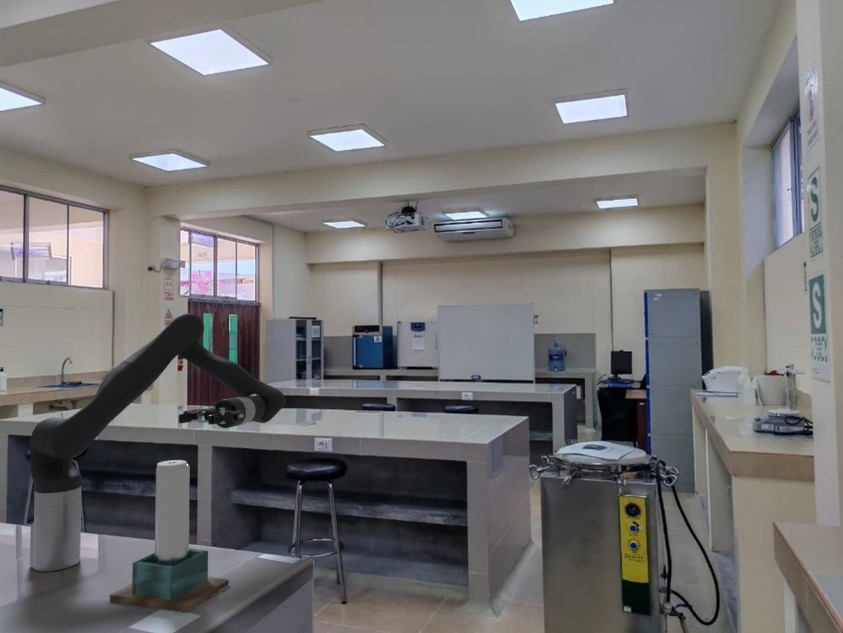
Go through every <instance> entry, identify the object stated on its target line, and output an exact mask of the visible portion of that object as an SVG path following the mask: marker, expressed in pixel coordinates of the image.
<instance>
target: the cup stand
mask: <svg viewBox="0 0 843 633" xmlns="http://www.w3.org/2000/svg"><path fill="white" fill-rule="evenodd" d="M131 572H132V577H131V578H132V580H131V581H132V582H131V583H130V584H128V585H126V586H124V587H123V588H120V589H119V590H116V591H114V592H113V593H110V594H109V602H113V603H121V604H125V605H132V606H141V607H146V608H151V609H152V608H153V609H159V610H165V609H166V611H171V610H174V612H178V611H182V612H181V613H184V612H187V613H188V611H189V610H190V611H192V610H193V609H195V608H197V607H198V606H200V605H201V604H202V602H203V601H204V600H206V599H207V598H209V597H210V596H212V595H213V594H215V593H216V594H218V593H219V592H220V591H219V590H221V589H222V588H224V587H225V586H227V585H228V584H229V583H230V579H227V578H221V577H220V578H219V577H212V576H209V550H204V549H203V550H202V549H195V548H189V559H187V560H185V561H183V562H181V563H179V564H177V565H175V566H169V565H161V564H155V552H153V553H152V554H149V555H146V556H144V557H142V558H140V559H138V560H136V561H134V562H132V571H131ZM229 585H230V584H229ZM227 587H228V586H227ZM224 589H225V588H224ZM222 590H223V589H222ZM222 590H221V591H222ZM218 591H219V592H218ZM217 592H218V593H217ZM216 594H215V595H216ZM213 596H214V595H213ZM213 596H212V597H213ZM210 598H211V597H210ZM210 598H209V599H210ZM207 600H208V599H207ZM207 600H206V601H207ZM204 602H205V601H204ZM204 602H203V603H204ZM200 603H201V604H200ZM197 605H198V606H197ZM194 607H195V608H194ZM191 609H192V610H191ZM190 611H189V612H190Z"/></svg>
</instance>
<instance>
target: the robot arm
mask: <svg viewBox="0 0 843 633" xmlns="http://www.w3.org/2000/svg"><path fill="white" fill-rule="evenodd" d="M204 331H205V325H204V322H203V320H202V319H201V318H200V316H198V315H196V314H194V313H190V312H189V313H187V312H186V313H181V314H178V315H176V316H175V317H174V318H173V319H171V321H170V322H169V323H168V324H167V325H166V326H165V328H164V329H163V330H161V331H160V333H159V334H157V335H156V336H155V337H154V338H153V339H152V340H151V341H149V342H148V343H146V344H145V345H143V346H142V347H141V348H139V349H138V350H137V351H135V352H134V353H132V354H131V355H130V356H129V357H127V358H126V359H125V360H123V361H122V362H120V363H119V364H118V365H117V366H116V367H114V368H113V369H111V371H110V372H109V373H108V374H107V375H106V376H105V377H104V378H103V380H102V382H101V383H100V385H99V387H98V389H97V392H96V393H95V395H94V397H93V398H92V399H91V400H90V401H89V402H88V403H87V404H86V405H84V406H83V407H82V408H81V409H79V411H77V412H75V413H74V414H72V416H70V417H67V418H64V417H48V418H45V419H43V420H41V421H39V423H37V424H36V426H35V427H34V429H33V430H32V432H31V436H30V440H29V462H30V467H29V468H30V476H31V479H32V482H33V484H34V501H33V503H34V509H33V510H34V511H33V512H34V513H33V515H34V516H33V523H31V525H30V538H29V539H30V543H29V545H30V546H29V547H30V548H29V549H30V550H29V567H31V568H32V570H34V571H37V572H54V571H60V570H64V569H67V568H71V567H73V566H76V565H77V564H79V563H80V562H81V543H82V542H81V539H82V538H81V534H82V532H81V531H82V474H81V472H79V471H78V470H77V468H75V466H74V464H73V462H72V461H73V460H72V459H74V458H76V457H78V456H80V455H81V454H83V452H84V451H86V450H87V448H89V446H90V445H91V444H92V443H93V442H94V441H95V440H96V439H97V438H98V436H99V435H100V434H101V433H102V432H103V431H104V430H105V429H106V428H107V427H108V425H110V423H111V422H112V421H113V420H114V419H115V418H117V417H118V416H119V415H120V414H121V413H122V412H123V411H124V410H126V408H128V407H129V406H130V405H131V404H132V403H133V402H134V401H136V400H137V399H138V398H139V397H140V396H142V394H143V393H144V392H146V391H147V390H148V389H149V388H150V387H151V386H152V385H153V384H154V383H155V382H156V380H157V379H159V377H160V376H161V375H162V374H163V372H165V370H166V369H167V367H168V366H169V365H170V363H171V362H172V361H173V360H174V359H175V358H176V357H177V356H179V357H180V358H183V359H184V360H186V361H187V362H190V363H191V364H192V365H194V366H196V367H197V368H199V369H201V370H203V371H204V372H205V373H207V374H209V375H210V376H212V377H213V378H215V379H216V380H217V381H218V382H219V383H221V384H222V385H224V386H225V387H226V388H227V389H228V390H229V391H231V392H232V393H233V394H234V395H236V397H231V398H224V399H220V400H218V401H217V402H216V403H215V404H214V406H211V407H208V408H197V409H196V408H195V409H192V410H191V409H190V410H184V411H183V413H180V414H179V415H178V423H179V424H187V423H194V422H197V423H198V424H205V423H208V425H211V426H212V425H217V426H218V427H219V428H221V429H230V428H234V427H238V426H242V425H245V424H247V423H251V422H255V423H260V424H266V423H268V422H270V421H271V420H272V419H273V418H274V417H275V416H276V415H277V414H278V413H279V412H280V411H281V410H282V409H283V408H284V407H285V405H286V403H287V400H286V397H285V394H284V393H283V392H282V391H281V390H279V389H278V388H276V387H273V386H272V385H270V384H267V383H265V382H263V381H262V380H259V379H257V378H256V377H254V376H253V375H252V374H250V372H248V371H247V370H246V369H245V368H244V367H243V366H241V365H239V364H238V363H236V362H234V361H232V360H230V359H227V358H225V357H223V356H220V355H217V354H215V353H214V352H211V351H210V350H209V349H207V348H206V347H205V346H204V345H203V344H202V343H201V342H200V341H201V339H202V337H203V334H204ZM257 395H258V396H257ZM202 419H204V420H202Z"/></svg>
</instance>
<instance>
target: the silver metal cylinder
mask: <svg viewBox="0 0 843 633" xmlns="http://www.w3.org/2000/svg"><path fill="white" fill-rule="evenodd" d="M190 466H191V465H190V464H188V461H186V460H183V459H173V460H165V461H164V460H163V461H160V462H158V463H157V465H156V469H155V506H154V507H155V508H154V509H155V511H154V513H155V516H154V518H155V519H154V527H155V528H154V553H155V564H161V565H169V566H175V565H177V564H179V563H181V562H183V561H185V560H187V559H189V549H190V484H191V483H190V480H191V479H190V474H191V472H190V468H191V467H190Z"/></svg>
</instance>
